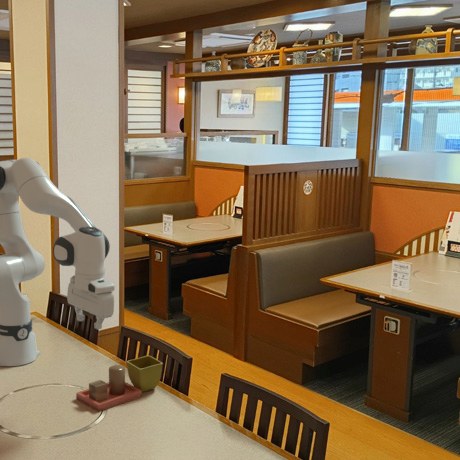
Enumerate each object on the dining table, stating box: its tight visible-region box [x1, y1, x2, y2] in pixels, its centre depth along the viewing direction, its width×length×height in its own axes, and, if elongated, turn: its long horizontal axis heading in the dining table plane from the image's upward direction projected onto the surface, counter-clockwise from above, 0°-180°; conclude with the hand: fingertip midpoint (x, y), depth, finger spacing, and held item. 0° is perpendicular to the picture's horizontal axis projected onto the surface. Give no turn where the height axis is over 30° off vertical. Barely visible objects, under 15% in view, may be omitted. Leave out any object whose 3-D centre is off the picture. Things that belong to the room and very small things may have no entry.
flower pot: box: [126, 355, 164, 393], centre depth 199 cm, size 9×9×9 cm
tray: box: [75, 381, 143, 413], centre depth 191 cm, size 12×16×2 cm
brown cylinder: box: [108, 364, 126, 396], centre depth 193 cm, size 5×5×8 cm
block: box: [88, 379, 108, 402], centre depth 188 cm, size 4×4×5 cm
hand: (89, 324), depth 188 cm, fingers open, 8 cm apart
